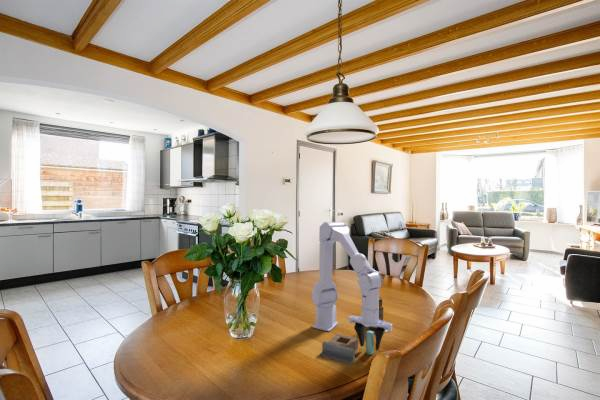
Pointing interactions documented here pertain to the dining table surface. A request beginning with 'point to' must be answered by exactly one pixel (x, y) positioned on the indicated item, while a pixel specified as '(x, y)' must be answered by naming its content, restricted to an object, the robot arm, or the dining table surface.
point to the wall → (338, 352)
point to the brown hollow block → (345, 341)
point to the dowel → (369, 342)
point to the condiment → (379, 316)
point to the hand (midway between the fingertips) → (369, 347)
